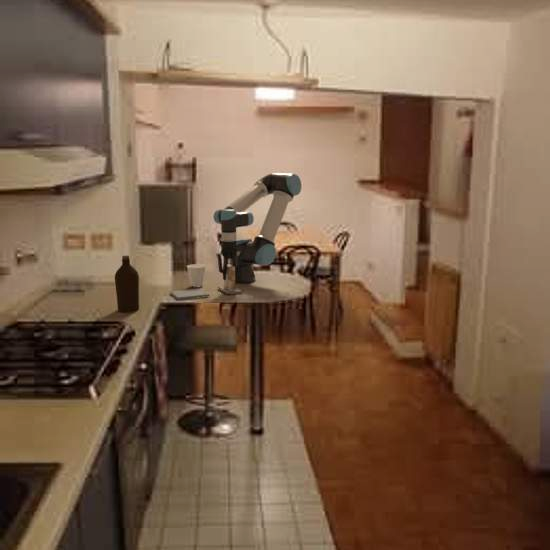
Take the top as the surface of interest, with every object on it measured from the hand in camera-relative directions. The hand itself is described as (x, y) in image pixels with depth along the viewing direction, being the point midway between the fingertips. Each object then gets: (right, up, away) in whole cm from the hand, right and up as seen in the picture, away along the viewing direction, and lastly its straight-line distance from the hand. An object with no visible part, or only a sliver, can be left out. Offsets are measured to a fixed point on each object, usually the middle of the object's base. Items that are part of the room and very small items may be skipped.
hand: (229, 285), depth 316 cm
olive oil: (-44, -11, -34) cm, 56 cm away
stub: (0, -3, +1) cm, 3 cm away
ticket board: (-19, -5, -8) cm, 21 cm away
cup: (-18, -1, +12) cm, 22 cm away
